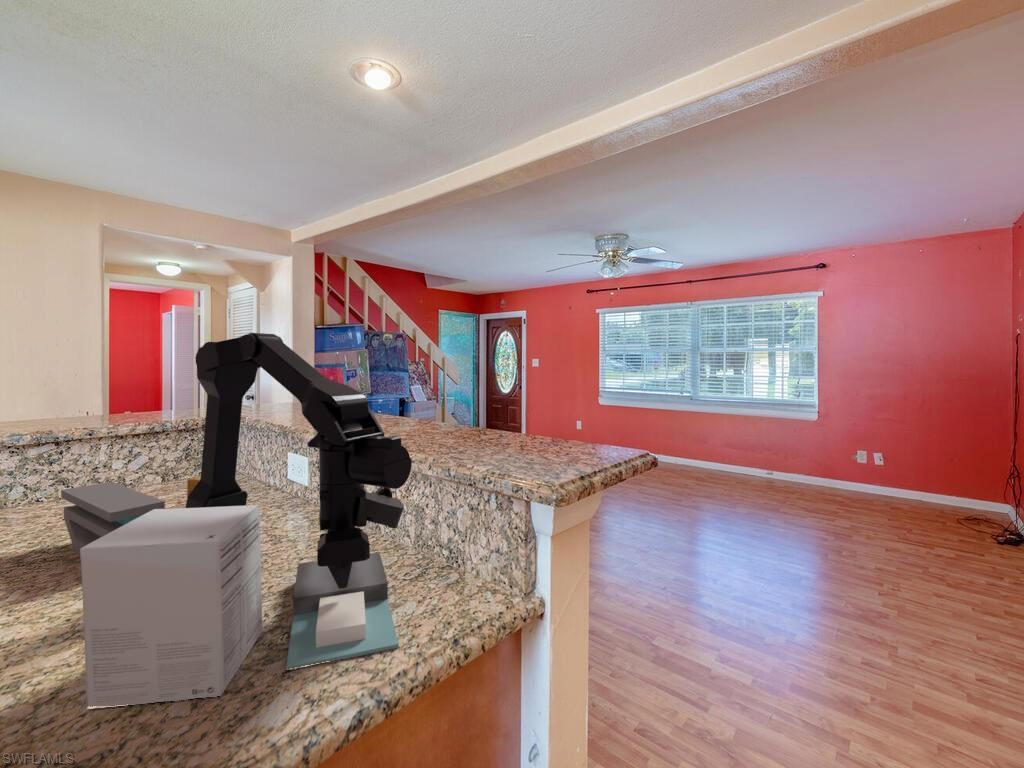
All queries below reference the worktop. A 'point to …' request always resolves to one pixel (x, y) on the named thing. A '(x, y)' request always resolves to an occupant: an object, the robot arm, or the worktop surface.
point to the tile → (341, 619)
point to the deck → (322, 584)
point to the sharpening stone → (103, 510)
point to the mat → (377, 640)
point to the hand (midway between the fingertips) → (342, 587)
